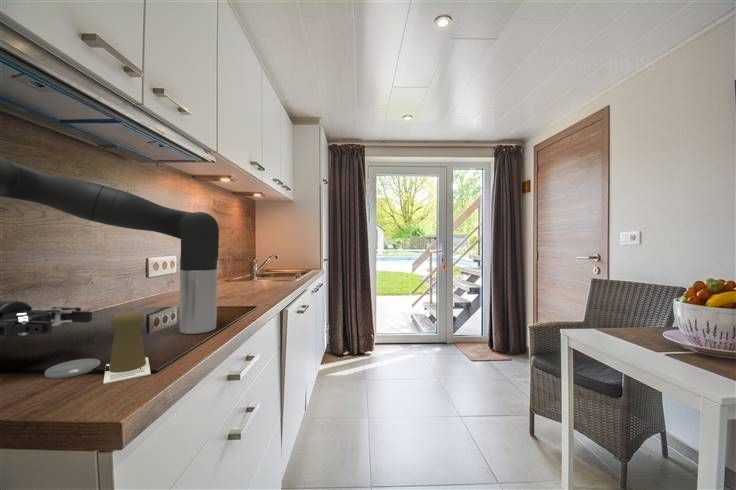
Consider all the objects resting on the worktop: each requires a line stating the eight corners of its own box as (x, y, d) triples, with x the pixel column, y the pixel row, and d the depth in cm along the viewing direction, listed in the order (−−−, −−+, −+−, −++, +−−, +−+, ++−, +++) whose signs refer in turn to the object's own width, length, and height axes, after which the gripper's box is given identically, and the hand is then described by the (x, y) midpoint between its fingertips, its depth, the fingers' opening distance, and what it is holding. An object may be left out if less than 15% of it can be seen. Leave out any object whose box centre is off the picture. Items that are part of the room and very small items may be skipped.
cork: (102, 368, 63) (102, 313, 62) (136, 358, 68) (136, 307, 68) (118, 375, 60) (118, 317, 60) (152, 364, 65) (152, 311, 65)
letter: (106, 365, 65) (106, 364, 65) (148, 357, 69) (148, 356, 69) (103, 384, 57) (103, 382, 57) (150, 374, 61) (150, 373, 61)
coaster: (49, 367, 63) (49, 364, 63) (101, 358, 68) (101, 355, 68) (40, 382, 57) (40, 379, 57) (98, 371, 62) (98, 368, 62)
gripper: (-55, 308, 57) (34, 311, 56) (30, 294, 71) (102, 297, 71) (-56, 349, 57) (33, 353, 57) (30, 327, 71) (101, 330, 71)
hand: (71, 322), depth 64 cm, fingers open, 8 cm apart
